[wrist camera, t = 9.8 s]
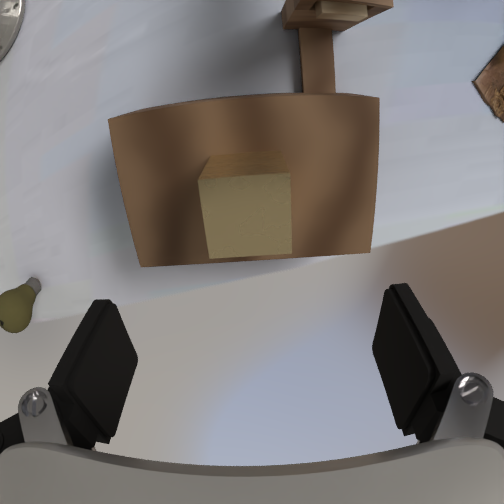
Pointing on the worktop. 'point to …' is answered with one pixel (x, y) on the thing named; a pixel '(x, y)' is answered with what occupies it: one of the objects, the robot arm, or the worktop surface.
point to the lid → (249, 178)
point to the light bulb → (18, 306)
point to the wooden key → (340, 11)
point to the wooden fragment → (493, 84)
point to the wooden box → (312, 46)
